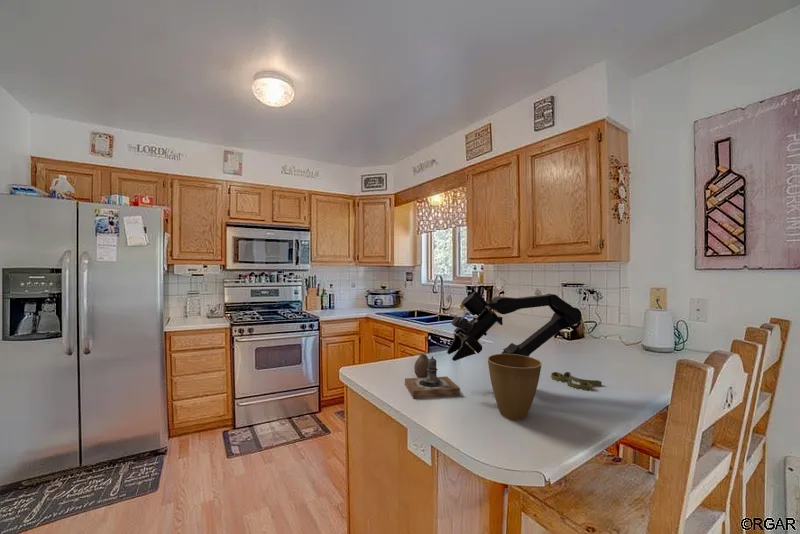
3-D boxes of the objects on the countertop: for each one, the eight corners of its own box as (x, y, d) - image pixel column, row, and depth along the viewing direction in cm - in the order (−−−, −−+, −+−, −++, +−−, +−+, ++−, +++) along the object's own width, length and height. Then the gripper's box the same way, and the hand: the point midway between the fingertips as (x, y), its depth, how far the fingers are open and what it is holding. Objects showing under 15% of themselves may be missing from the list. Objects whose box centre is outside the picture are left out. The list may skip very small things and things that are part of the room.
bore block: (447, 383, 129) (447, 376, 129) (459, 395, 116) (460, 388, 116) (404, 385, 126) (404, 378, 126) (413, 398, 113) (413, 390, 113)
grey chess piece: (435, 394, 117) (435, 358, 117) (420, 391, 120) (420, 356, 121) (443, 390, 122) (444, 355, 122) (428, 386, 125) (429, 353, 125)
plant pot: (476, 410, 104) (477, 356, 104) (511, 401, 112) (512, 351, 112) (515, 431, 91) (515, 369, 91) (552, 419, 99) (553, 362, 99)
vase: (432, 380, 133) (432, 357, 133) (414, 379, 133) (414, 356, 133) (431, 374, 140) (431, 352, 140) (413, 374, 140) (414, 352, 140)
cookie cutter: (607, 388, 127) (607, 382, 127) (586, 393, 121) (586, 387, 121) (563, 375, 143) (563, 370, 143) (543, 379, 137) (543, 374, 137)
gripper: (459, 305, 131) (430, 335, 131) (472, 311, 113) (438, 346, 112) (480, 326, 132) (451, 356, 131) (496, 336, 113) (462, 370, 113)
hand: (450, 356), depth 122 cm, fingers open, 9 cm apart
